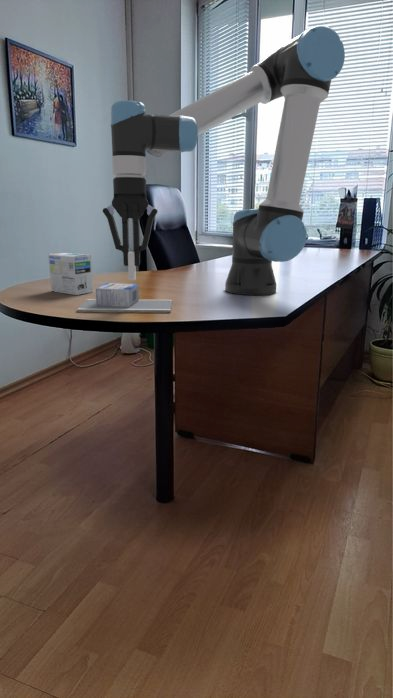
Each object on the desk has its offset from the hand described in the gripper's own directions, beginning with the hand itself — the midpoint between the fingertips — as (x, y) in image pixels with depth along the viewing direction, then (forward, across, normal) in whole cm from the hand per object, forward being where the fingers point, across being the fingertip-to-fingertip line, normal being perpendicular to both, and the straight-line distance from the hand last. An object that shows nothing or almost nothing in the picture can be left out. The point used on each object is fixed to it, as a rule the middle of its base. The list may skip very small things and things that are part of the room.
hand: (132, 279), depth 116 cm
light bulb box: (+7, +20, -20) cm, 29 cm away
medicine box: (+4, -1, 0) cm, 4 cm away
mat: (+7, +2, 0) cm, 7 cm away
